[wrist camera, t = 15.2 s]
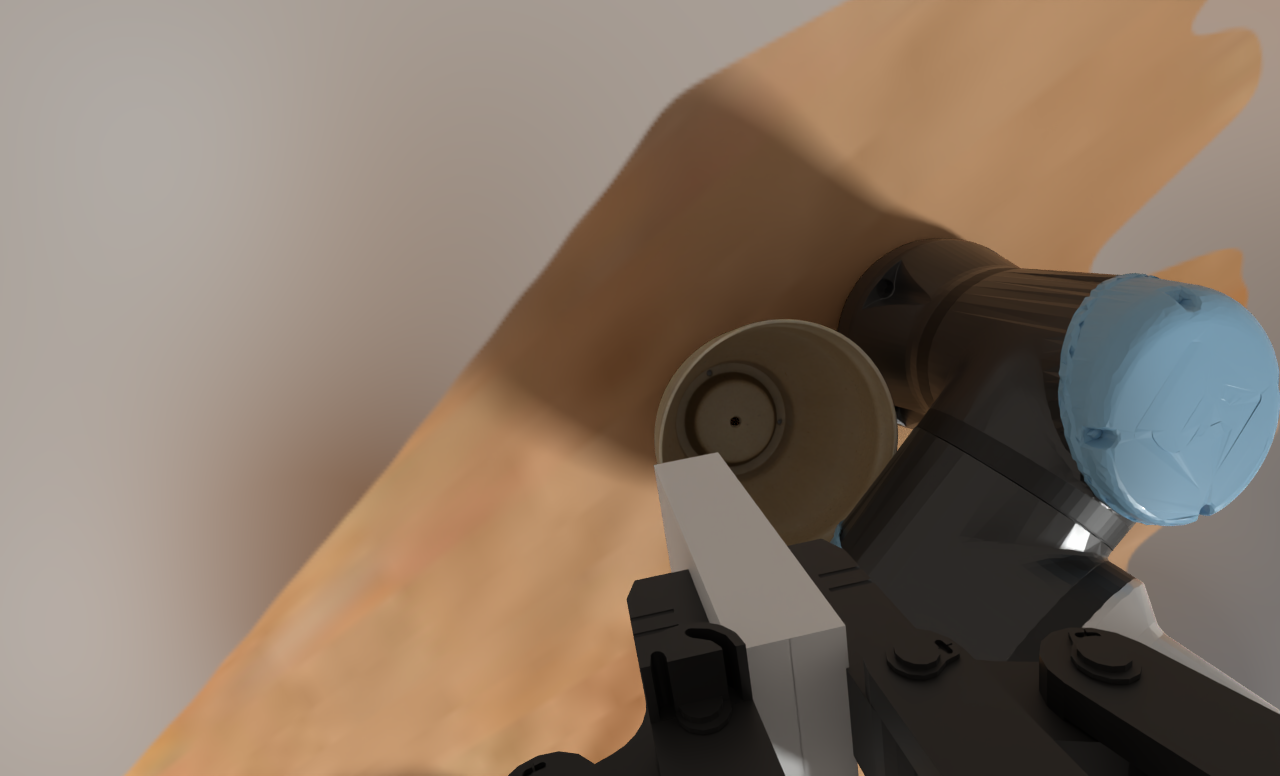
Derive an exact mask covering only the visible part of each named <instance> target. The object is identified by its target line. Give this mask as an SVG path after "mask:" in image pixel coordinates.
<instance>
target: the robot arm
mask: <svg viewBox="0 0 1280 776" xmlns="http://www.w3.org/2000/svg"><path fill="white" fill-rule="evenodd" d="M838 332H839V333H840V334H842V335H844V336H845V337H847V338H849V339H850V340H851V341H853V342H854V343H855V344H856V345H858V346H859V347H860V348H861V349H862V350H863V351H864V352H865V353H866V354H867V355H868V357H869V358H870V359H871V360H872V361H873V363H874V364H875V365H876V367H877V368H878V370H879V371H880V373H881V375H882V377H883V379H884V381H885V383H886V384H887V387H888V389H889V392H890V394H891V397H892V400H893V404H894V407H895V412H896V418H897V425H899V426H903V427H906V428H910V429H913V430H912V432H911V433H910V434H909V436H908V437H907V439H906V440H905V441H904V443H903V444H902V445H901V447H900V448H899V449H898V451H897V452H896V453H895V455H894V456H893V457H892V459H891V460H890V461H889V463H888V464H887V465H886V467H885V468H884V469H883V471H882V472H881V473H880V475H879V476H878V477H877V479H876V480H875V481H874V482H873V484H872V485H871V486H870V488H869V489H868V490H867V492H866V493H865V494H864V495H863V497H862V498H861V499H860V501H859V502H858V503H857V504H856V506H855V507H854V508H853V510H852V511H851V512H850V514H849V515H848V516H847V517H846V519H844V520H843V521H841V522H840V523H839V524H838V525H837V527H836V529H835V532H834V537H833V538H832V540H831V541H830V542H828V541H826V540H823V539H817V540H812V541H808V542H803V543H798V544H794V545H789V546H787V545H786V544H785V543H784V541H783V540H782V539H781V537H780V536H779V535H778V533H777V532H776V530H775V529H774V528H773V526H772V525H771V524H770V522H769V521H768V520H767V518H766V517H765V515H764V514H763V513H762V511H761V510H760V509H759V507H758V506H757V505H756V503H755V502H754V501H753V499H752V498H751V496H750V495H749V494H748V492H747V491H746V490H745V488H744V487H743V486H742V484H741V483H740V482H739V480H738V479H737V477H736V476H735V475H734V473H733V472H732V471H731V469H730V468H729V467H728V465H727V464H726V462H725V461H724V460H723V458H722V457H721V456H720V454H719V453H718V452H717V453H712V454H707V455H702V456H697V457H692V458H687V459H682V460H677V461H672V462H667V463H662V464H657V465H654V469H655V475H656V481H657V488H658V494H659V500H660V506H661V512H662V518H663V524H664V530H665V536H666V542H667V548H668V554H669V560H670V566H671V572H672V573H668V574H664V575H659V576H654V577H650V578H645V579H640V580H636V581H634V584H633V586H632V588H631V591H630V593H629V595H628V597H627V604H628V609H629V614H630V620H631V625H632V630H633V636H634V641H635V646H636V652H637V657H638V662H639V668H640V673H641V678H642V683H643V689H644V694H645V699H646V713H645V717H644V720H643V723H642V725H641V726H640V728H639V730H638V731H637V733H636V735H635V736H634V737H633V738H632V739H631V740H630V741H629V742H628V743H627V744H626V745H625V746H624V747H622V748H621V749H619V750H618V751H616V752H615V753H613V754H612V755H610V756H609V757H607V758H605V759H603V760H601V761H600V762H598V763H596V764H594V763H592V762H591V761H589V760H587V759H586V758H584V757H582V756H581V755H579V754H575V753H567V752H560V751H559V752H554V753H549V754H544V755H539V756H537V757H535V758H533V759H531V760H529V761H527V762H525V763H523V764H521V765H519V766H518V767H517V768H516V769H515V770H513V771H512V772H511V773H510V774H509V775H508V776H858V765H857V762H858V764H859V766H860V768H861V769H862V771H863V773H864V775H865V776H1280V710H1279V709H1277V708H1276V707H1274V706H1273V705H1271V704H1270V703H1268V702H1266V701H1265V700H1264V699H1262V698H1260V697H1259V696H1258V695H1256V694H1255V693H1253V692H1252V691H1250V690H1248V689H1247V688H1246V687H1244V686H1243V685H1241V684H1239V683H1238V682H1236V681H1235V680H1234V679H1232V678H1231V677H1229V676H1228V675H1226V674H1224V673H1223V672H1221V671H1220V670H1218V669H1217V668H1215V667H1214V666H1212V665H1211V664H1209V663H1208V662H1206V661H1205V660H1203V659H1202V658H1200V657H1199V656H1197V655H1196V654H1194V653H1193V652H1191V651H1190V650H1188V649H1187V648H1185V647H1184V646H1182V645H1181V644H1179V643H1178V642H1176V641H1175V640H1173V639H1172V638H1170V637H1169V636H1167V635H1166V634H1165V633H1164V632H1163V631H1162V630H1161V628H1160V627H1159V626H1158V624H1157V621H1156V618H1155V615H1154V612H1153V609H1152V606H1151V603H1150V600H1149V597H1148V594H1147V591H1146V588H1145V585H1144V583H1143V582H1141V581H1140V580H1138V579H1136V578H1135V577H1133V576H1132V575H1130V574H1128V573H1127V572H1125V571H1124V570H1122V569H1121V568H1119V567H1117V566H1116V565H1114V564H1113V563H1111V562H1110V561H1109V560H1108V558H1107V557H1108V556H1109V555H1110V553H1111V552H1112V551H1113V549H1114V548H1115V547H1116V546H1117V544H1118V543H1119V542H1120V541H1121V540H1122V538H1123V537H1124V536H1125V535H1126V534H1127V532H1128V531H1129V530H1130V529H1131V528H1132V527H1133V526H1134V524H1135V523H1136V522H1140V523H1143V524H1145V525H1153V524H1154V525H1160V526H1177V525H1185V524H1188V523H1192V522H1195V521H1196V520H1197V519H1198V515H1199V514H1200V515H1205V516H1210V515H1212V514H1214V513H1216V512H1218V511H1220V510H1221V509H1223V508H1224V507H1225V506H1227V505H1228V504H1229V503H1231V502H1232V501H1233V500H1234V499H1235V498H1236V497H1237V496H1238V495H1239V494H1240V493H1241V492H1242V491H1243V490H1244V489H1245V488H1246V487H1247V485H1248V484H1249V483H1250V482H1251V480H1252V479H1253V477H1254V476H1255V475H1256V473H1257V471H1258V470H1259V468H1260V466H1261V465H1262V463H1263V461H1264V459H1265V458H1266V455H1267V453H1268V451H1269V449H1270V446H1271V444H1272V441H1273V438H1274V435H1275V431H1276V428H1277V424H1278V419H1279V410H1280V392H1279V388H1278V383H1279V367H1278V363H1277V359H1276V355H1275V352H1274V349H1273V346H1272V344H1271V342H1270V340H1269V338H1268V336H1267V334H1266V333H1265V331H1264V329H1263V328H1262V326H1261V325H1260V323H1259V322H1258V321H1257V320H1256V318H1255V317H1254V316H1253V315H1252V314H1251V313H1250V312H1249V311H1248V310H1247V309H1246V308H1245V307H1243V306H1242V305H1241V304H1240V303H1238V302H1237V301H1235V300H1234V299H1232V298H1231V297H1229V296H1227V295H1225V294H1223V293H1221V292H1219V291H1216V290H1214V289H1210V288H1207V287H1204V286H1199V285H1193V284H1187V283H1181V282H1175V281H1169V280H1163V279H1159V278H1157V277H1155V276H1151V275H1150V276H1147V275H1146V274H1137V273H1132V274H1125V275H1111V274H1097V273H1082V272H1068V271H1053V270H1038V269H1022V268H1019V267H1018V266H1016V265H1015V264H1013V263H1011V262H1010V261H1008V260H1007V259H1005V258H1003V257H1002V256H1000V255H999V254H997V253H996V252H994V251H992V250H991V249H989V248H987V247H985V246H982V245H980V244H977V243H973V242H970V241H965V240H958V239H926V240H920V241H915V242H912V243H909V244H906V245H903V246H901V247H899V248H896V249H895V250H893V251H891V252H889V253H888V254H886V255H884V256H883V257H882V258H880V259H879V260H878V261H877V262H875V263H874V264H873V265H872V266H871V267H870V268H869V269H868V270H867V271H866V272H865V273H864V274H863V275H862V277H861V278H860V279H859V281H858V282H857V283H856V285H855V286H854V288H853V290H852V291H851V293H850V295H849V297H848V299H847V301H846V303H845V306H844V308H843V311H842V314H841V318H840V322H839V327H838Z"/></svg>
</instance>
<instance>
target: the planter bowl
mask: <svg viewBox="0 0 1280 776" xmlns="http://www.w3.org/2000/svg"><path fill="white" fill-rule="evenodd" d="M733 417H737V418H738V419H739V421H740V423H739V424H738V425H736V426H734V425H731V423H730V422H731V419H732V418H733ZM897 444H898V426H897V418H896V412H895V407H894V404H893V400H892V397H891V394H890V392H889V389H888V387H887V384H886V383H885V381H884V379H883V377H882V375H881V373H880V371H879V370H878V368H877V367H876V365H875V364H874V363H873V361H872V360H871V359H870V358H869V357H868V355H867V354H866V353H865V352H864V351H863V350H862V349H861V348H860V347H859V346H858V345H856V344H855V343H854V342H853V341H851V340H850V339H849V338H847V337H845V336H844V335H842V334H840V333H839V332H837V331H835V330H833V329H830V328H828V327H826V326H823V325H820V324H817V323H813V322H809V321H802V320H795V319H775V320H766V321H760V322H755V323H751V324H748V325H745V326H742V327H739V328H737V329H735V330H732V331H729V332H727V333H724V334H722V335H720V336H718V337H716V338H714V339H712V340H711V341H709V342H707V343H706V344H704V345H703V346H701V347H700V348H699V349H697V350H696V351H695V352H694V353H693V354H692V355H691V356H689V357H688V358H687V359H686V360H685V361H684V362H683V364H682V365H681V366H680V367H679V368H678V370H677V371H676V373H675V374H674V375H673V377H672V378H671V380H670V382H669V383H668V385H667V387H666V389H665V391H664V394H663V396H662V398H661V401H660V404H659V408H658V412H657V416H656V422H655V431H654V445H655V455H656V461H657V464H662V463H667V462H672V461H677V460H682V459H687V458H692V457H697V456H702V455H707V454H712V453H717V452H718V453H719V454H720V456H721V457H722V458H723V460H724V461H725V462H726V464H727V465H728V467H729V468H730V469H731V471H732V472H733V473H734V475H735V476H736V477H737V479H738V480H739V482H740V483H741V484H742V486H743V487H744V488H745V490H746V491H747V492H748V494H749V495H750V496H751V498H752V499H753V501H754V502H755V503H756V505H757V506H758V507H759V509H760V510H761V511H762V513H763V514H764V515H765V517H766V518H767V520H768V521H769V522H770V524H771V525H772V526H773V528H774V529H775V530H776V532H777V533H778V535H779V536H780V537H781V539H782V540H783V541H784V543H785V544H786V545H787V546H789V545H794V544H798V543H803V542H808V541H812V540H817V539H823V540H826V541H828V542H830V541H831V540H832V538H833V537H834V532H835V529H836V527H837V525H838V524H839V523H840V522H841V521H843V520H844V519H846V517H847V516H848V515H849V514H850V512H851V511H852V510H853V508H854V507H855V506H856V504H857V503H858V502H859V501H860V499H861V498H862V497H863V495H864V494H865V493H866V492H867V490H868V489H869V488H870V486H871V485H872V484H873V482H874V481H875V480H876V479H877V477H878V476H879V475H880V473H881V472H882V471H883V469H884V468H885V467H886V465H887V464H888V463H889V461H890V460H891V459H892V457H893V456H894V455H895V453H896V452H897Z"/></svg>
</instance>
